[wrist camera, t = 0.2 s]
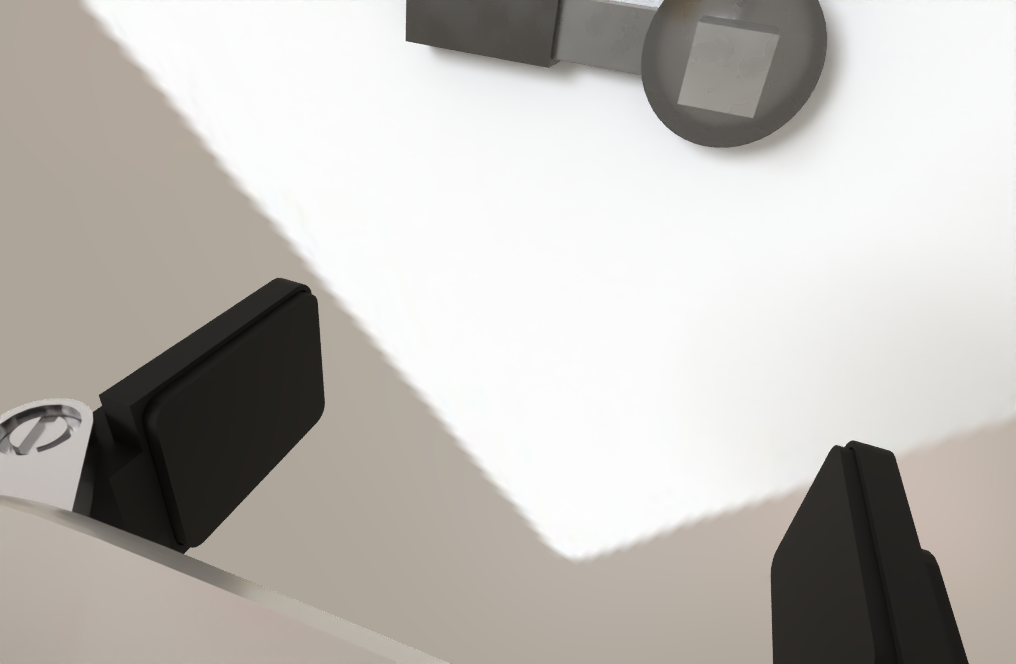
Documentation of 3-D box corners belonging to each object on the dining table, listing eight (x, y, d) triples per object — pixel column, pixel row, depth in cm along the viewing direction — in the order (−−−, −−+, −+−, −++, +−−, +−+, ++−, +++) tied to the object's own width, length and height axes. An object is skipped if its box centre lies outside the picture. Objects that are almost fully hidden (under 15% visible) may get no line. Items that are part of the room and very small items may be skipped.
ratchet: (427, -87, 35) (369, -95, 30) (851, -30, 30) (871, -27, 25) (421, 78, 40) (371, 97, 35) (785, 151, 35) (791, 185, 30)
